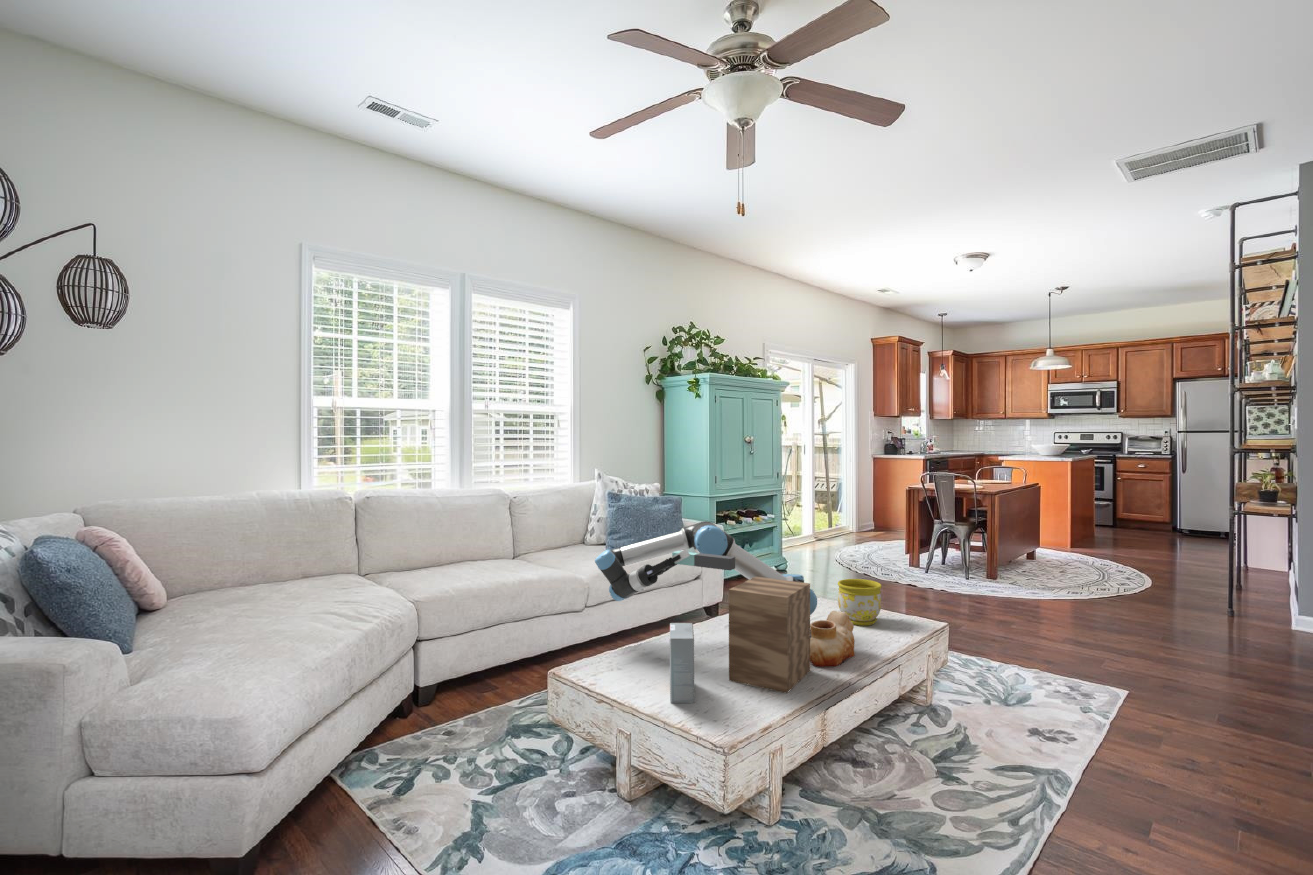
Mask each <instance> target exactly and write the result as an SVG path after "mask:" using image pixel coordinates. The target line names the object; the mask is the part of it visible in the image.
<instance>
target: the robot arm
mask: <svg viewBox="0 0 1313 875" xmlns="http://www.w3.org/2000/svg"><path fill="white" fill-rule="evenodd" d="M696 550H697V551H698V553H703V554H713V555H722V556H731V557H735V569H733V570H734V571H735V572H736V573H739V574H740V575H741V576H743V577H744V578H746V579H747V580H750V579H752V578H754V577H763V578H771V579H779V580H787V581H795V582H803V583H805V578H804V577H805V576H804V575H803V574H796V573H794V574H793V573H785V574H784V573H780V572H779V571H777V570H775V569H774V568H773V567H772V566H769V565H768V564H767V563H766V562H764V561H762V560H760V559H759V557H758V558H757V557H756V556H755V555H754V554H751V553H750V552H749V551H747V550H745V549H743V548H742V547H741V546H740V545H738V544H736V541H735V538H734V537H733V536H732V535H730V534H728V533H727V532H726V531H725V530H722V529H721V528H720V527H718V526H717V525H716V524H715V523H713V522H712V521H711V522H710V521H700V522H698V523H693V524H691V525H687V526H684V527H682V528H681V529H680V530H679V531H677V532H672V533H668V534H664V535H661V536H657V537H654V538H650V539H646V540H642V541H639V542H635V543H632V544H629V545H624V546H621V547H618V548H617V547H616V548H607V549H605V550H604V551H603V552H601V553H600V554H599V555H598V556H597V557H596V558H595V560H594V563H595V565H596V566H597V568H598V569H599V571H600V572H601V573H602V574H603V575H604V577H605V578H606V580H607V581H608V583H609V584H610V585H609V588H608V592H609V593H610V597H611V598H612V599H613V600H614V601H616V602H621V601H624V600H626V599H629V598H630V597H632V596H634V595H635V594H637V593H639V592H644V591H645V589H647V588H648V587H651V586H653V585H655V584H656V583H657V582H658V579H659V578H658V576H660V575H663V574H664V573H665V572H667V571H669V570H670V569H672V568H674V567H675V566H677V565H678V564H676V563H678V562H680V561H682V560H683V559H685V558H687V557H689V556H690V554H689V552H694V553H697V552H696ZM675 551H682V552H680V553H678V554H676V555H674V556H673V558H672V557H671V556H670V557H669V558H666V559H665V560H663V561H661V562H659V563H656V564H654V565H651V564H649V563H648V564H644V565H643V566H641V567H640V568H637V569H635V570H634V571H631V572H629V574H628V572H627V571H626V569H625V568H624V567H626V566H628V565H632V564H636V563H640V562H643V561H647V560H652V559H655V558H658V557H662V556H666V555H669V554H672V552H675ZM674 562H675V563H674ZM817 606H818V597H817V595H816V593H815V591H814V590H813V589H812V588H810V616H811V615H812V614H814V612H815V611H816V609H817Z"/></svg>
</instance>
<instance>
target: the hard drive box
mask: <svg viewBox="0 0 1313 875" xmlns="http://www.w3.org/2000/svg"><path fill="white" fill-rule="evenodd" d="M669 693H670V694H669V696H670V697H669V698H670V699H669V701H670V703H671V704H694V703H695V634H694V624H693V623H692V622H670V623H669Z"/></svg>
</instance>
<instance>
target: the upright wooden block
mask: <svg viewBox="0 0 1313 875" xmlns="http://www.w3.org/2000/svg"><path fill="white" fill-rule="evenodd" d="M810 589H811V582H810V583H809V582H804V583H803V582H795V581H787V580H779V579H771V578H763V577H754V578H752V579H750V580H749V579H747V580H745V581H743V582H741V583H739V584H737V585H736V586H734V587H731V588H729V589H728V681H730V682H734V683H739V684H744V685H747V684H748V686H752V687H757V688H761V689H767V690H770V689H772V690H771V691H775V690H776V691H775V692H779V691H781V692H780V693H784V692H786V693H785V694H788V693H789V692H790V691H791V690H793V688H794V687H795V686H796V685H797V684H799V683H800V682H801V681H802V680H803V679H804V678H805V677H806V676H807V675H808V674H809V673H810V672H811V662H810V638H811V629H810V624H811V615H810ZM805 675H806V676H805ZM803 677H804V678H803ZM790 689H791V690H790ZM789 690H790V691H789ZM788 691H789V692H788ZM787 692H788V693H787Z"/></svg>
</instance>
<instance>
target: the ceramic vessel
mask: <svg viewBox="0 0 1313 875" xmlns="http://www.w3.org/2000/svg"><path fill="white" fill-rule="evenodd" d="M854 626H855V625H853V623H852V622H851V621H850V620H849V616H848V614H847V613H845V612H841V611H837V610H832V611H831V612H829V614H828V615H827V618H826V619H825V620H824V619H820V620H815V621H813V622H810V664H812V666H815V667H817V668H827V667H834V668H835V667H838V666H841V665H842V664H843V663H845V661H846V660H848V659H851V658H853V657H855V651H854V649H855V635H854V633H853V630H854V628H855V627H854Z"/></svg>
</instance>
